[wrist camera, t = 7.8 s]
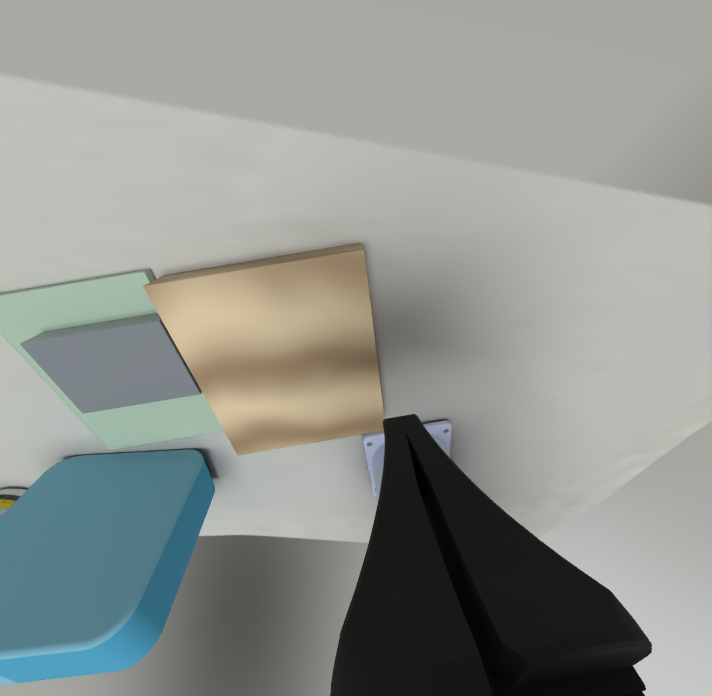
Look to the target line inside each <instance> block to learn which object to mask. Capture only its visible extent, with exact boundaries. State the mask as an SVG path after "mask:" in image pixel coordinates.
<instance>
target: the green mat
mask: <svg viewBox="0 0 712 696" xmlns="http://www.w3.org/2000/svg"><path fill="white" fill-rule="evenodd" d="M154 280H155V278H154V276H153V274H152V272H151V270H150V269H147V270H141V271H135V272H129V273H123V274H117V275H111V276H105V277H99V278H93V279H87V280H81V281H75V282H69V283H63V284H56V285H50V286H44V287H38V288H32V289H26V290H20V291H14V292H8V293H2V294H0V334H1V335H2V336H3V337H4V338H5V339H6V340H7V341H8V342H9V343H10V344H11V346H12V347H13V348H14V349H15V350H16V351H17V352H18V353H19V354H20V355H21V356H22V357H23V358H24V360H25V361H26V362H27V363H28V364H29V365H30V366H31V367H32V368H33V369H34V370H35V371H36V372H37V374H38V375H39V376H40V377H41V378H42V379H43V380H44V381H45V382H46V383H47V384H48V385H49V387H50V388H51V389H52V390H53V391H54V392H55V393H56V394H57V395H58V396H59V397H60V398H61V399H62V401H63V402H64V403H65V404H66V405H67V406H68V407H69V408H70V409H71V410H72V411H73V412H74V413H75V415H76V416H77V417H78V418H79V419H80V420H81V421H82V422H83V423H84V424H85V425H86V426H87V428H88V429H89V430H90V431H91V432H92V433H93V434H94V435H95V436H96V437H97V438H98V439H99V440H100V442H101V443H102V444H103V445H104V446H105V447H106V448H107V449H108V450H113V449H119V448H125V447H131V446H137V445H143V444H149V443H155V442H161V441H167V440H173V439H179V438H185V437H191V436H197V435H203V434H209V433H215V432H221V431H224V430H223V428H222V426H221V424H220V423H219V421H218V419H217V417H216V416H215V414H214V412H213V410H212V408H211V407H210V405H209V403H208V401H207V400H206V398H205V396H204V394H203V392H202V393H201V394H199V395H193V396H187V397H181V398H175V399H169V400H163V401H157V402H151V403H145V404H139V405H133V406H127V407H121V408H115V409H109V410H103V411H97V412H91V413H85V414H82V412H81V411H80V410H79V409H78V408H77V407H76V406H75V405H74V404H73V402H72V401H71V400H70V399H69V398H68V397H67V396H66V395H65V394H64V393H63V391H62V390H61V389H60V388H59V387H58V386H57V385H56V384H55V383H54V381H53V380H52V379H51V378H50V377H49V376H48V375H47V374H46V373H45V371H44V370H43V369H42V368H41V367H40V366H39V365H38V364H37V363H36V362H35V360H34V359H33V358H32V357H31V356H30V355H29V354H28V353H27V352H26V350H25V349H24V348H23V347H22V346H21V345H20V343H22V342H24V341H26V340H28V339H30V338H32V337H34V336H36V335H38V334H40V333H42V332H45V331H51V330H57V329H63V328H69V327H75V326H81V325H87V324H93V323H99V322H105V321H112V320H118V319H124V318H130V317H136V316H142V315H148V314H154V313H158V312H157V311H156V309H155V307H154V305H153V304H152V302H151V300H150V298H149V296H148V295H147V293H146V291H145V289H144V288H143V286H144V285H146V284H148V283H150V282H152V281H154Z"/></svg>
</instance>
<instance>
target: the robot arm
mask: <svg viewBox="0 0 712 696" xmlns="http://www.w3.org/2000/svg"><path fill="white" fill-rule="evenodd" d="M383 429H384V431H380V432H374V433H368V434H365V435H364V436H363V442H364V448H365V453H366V458H367V464H368V469H369V474H370V480H371V485H372V490H373V495H374V496H375V497H377V500H378V505H377V510H376V515H375V520H374V524H373V528H372V532H371V536H370V541H369V544H368V548H367V552H366V555H365V559H364V562H363V566H362V569H361V572H360V576H359V579H358V582H357V586H356V589H355V592H354V595H353V598H352V601H351V603H350V606H349V609H348V612H347V615H346V618H345V621H344V624H343V626H342V630H341V633H340V639H339V644H338V648H337V653H336V658H335V663H334V669H333V675H332V682H331V695H330V696H645V695H644V694H643V692H642V691H644V690H646V688H645V685H644V683H643V681H642V680H641V678H640V677H639V675H638V674H637V672H636V670H635V669H634V667H633V665H634V664H636V663H638V662H639V661H641V660H642V659H644V658H645V657H647V656H648V655H649V654H650V653H651V650H652V648H651V647H652V644H651V642H650V641H649V639H648V638H647V637H646V635H645V634H644V632H643V631H642V630H641V628H640V627H639V625H638V624H637V623H636V621H635V620H634V619H633V618H632V616H631V615H630V614H629V613H628V611H627V610H626V609H625V608H624V607H623V605H622V604H621V603H620V602H619V601H618V599H617V598H616V597H615V596H614V594H613V593H612V592H611V591H610V590H609V589H607V588H606V587H604V586H603V585H601V584H600V583H598V582H597V581H596V580H594V579H592V578H591V577H590V576H588V575H587V574H585V573H584V572H583V571H581V570H580V569H578V568H577V567H576V566H574V565H573V564H571V563H570V562H568V561H567V560H566V559H564V558H563V557H561V556H560V555H558V553H556V552H555V551H554V550H552V549H551V548H550V547H548V546H547V545H546V544H544V543H543V542H541V541H540V540H539V539H538V538H537V537H535V536H534V535H533V534H532V533H530V532H529V531H528V530H527V529H525V528H524V527H523V526H522V525H520V524H519V523H518V522H517V521H515V520H514V519H513V518H512V517H511V516H509V515H508V514H507V513H506V512H505V511H504V510H502V509H501V508H500V507H499V506H498V505H497V504H496V503H494V502H493V501H492V500H491V499H490V498H489V497H488V496H487V495H486V494H485V493H484V492H482V491H481V490H480V489H479V488H478V487H477V486H476V485H475V484H474V483H473V482H472V481H471V480H470V479H469V478H468V477H467V476H466V475H465V474H464V473H463V472H462V471H461V470H460V469H459V467H458V466H457V465H456V464H455V463H454V462H453V461H452V460H451V459H450V443H451V423H450V422H449V421H439V422H434V423H428V424H422V422H421V421H420V419H419V418H418V416H417V415H415V414H412V415H406V416H400V417H394V418H388V419H385V420H384V421H383ZM368 442H370V443H368Z"/></svg>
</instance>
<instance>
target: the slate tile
mask: <svg viewBox="0 0 712 696" xmlns="http://www.w3.org/2000/svg"><path fill="white" fill-rule="evenodd" d="M20 345H21V346H22V347H23V348H24V349H25V350H26V352H27V353H28V354H29V355H30V356H31V357H32V358H33V359H34V360H35V362H36V363H37V364H38V365H39V366H40V367H41V368H42V369H43V370H44V371H45V373H46V374H47V375H48V376H49V377H50V378H51V379H52V380H53V381H54V383H55V384H56V385H57V386H58V387H59V388H60V389H61V390H62V391H63V393H64V394H65V395H66V396H67V397H68V398H69V399H70V400H71V401H72V402H73V404H74V405H75V406H76V407H77V408H78V409H79V410H80V411H81V412H82V414H85V413H91V412H97V411H103V410H109V409H115V408H121V407H127V406H133V405H139V404H145V403H151V402H157V401H163V400H169V399H175V398H181V397H187V396H193V395H199V394H201V393H202V391H201V389H200V387H199V385H198V384H197V382H196V380H195V378H194V376H193V375H192V373H191V371H190V369H189V368H188V366H187V364H186V362H185V360H184V359H183V357H182V355H181V353H180V352H179V350H178V348H177V346H176V344H175V343H174V341H173V339H172V337H171V336H170V334H169V332H168V330H167V328H166V327H165V325H164V323H163V321H162V320H161V318H160V316H159V314H158V313H154V314H148V315H142V316H136V317H130V318H124V319H118V320H112V321H105V322H99V323H93V324H87V325H81V326H75V327H69V328H63V329H57V330H51V331H45V332H42V333H40V334H38V335H36V336H34V337H32V338H30V339H28V340H26V341H24V342H22V343H20Z"/></svg>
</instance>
